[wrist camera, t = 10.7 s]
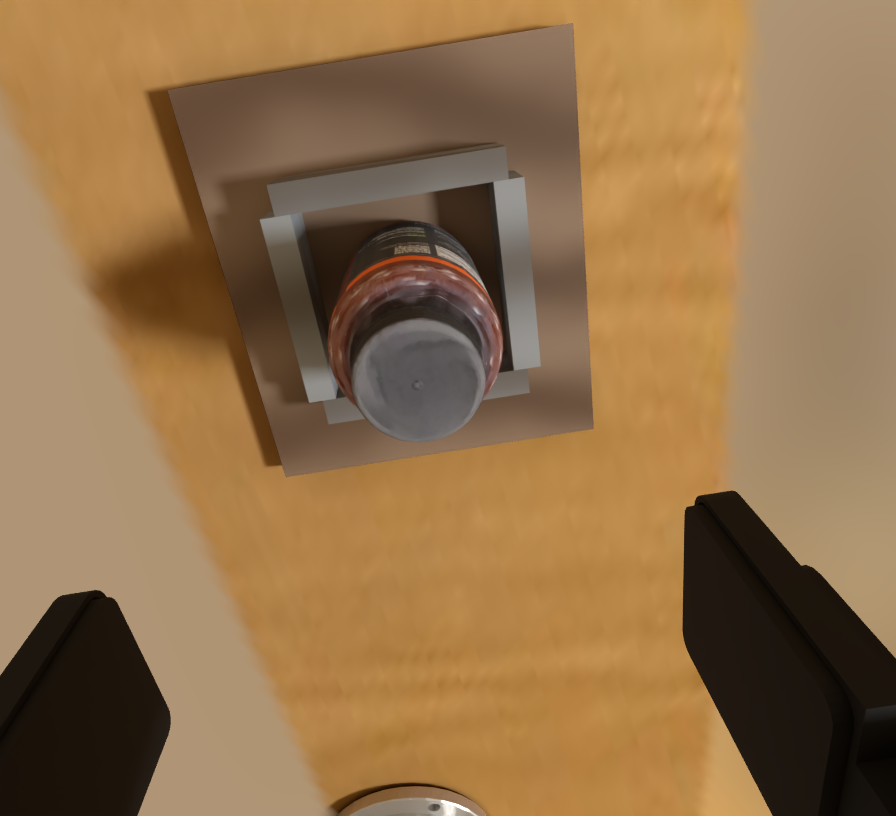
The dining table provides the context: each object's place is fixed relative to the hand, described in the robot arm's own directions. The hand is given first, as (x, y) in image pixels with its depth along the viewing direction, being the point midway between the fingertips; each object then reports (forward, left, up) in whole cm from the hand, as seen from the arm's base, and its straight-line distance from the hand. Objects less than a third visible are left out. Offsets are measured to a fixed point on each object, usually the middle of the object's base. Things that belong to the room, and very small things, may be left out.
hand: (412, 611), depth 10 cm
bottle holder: (0, 0, -22) cm, 22 cm away
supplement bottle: (0, 0, -21) cm, 21 cm away
